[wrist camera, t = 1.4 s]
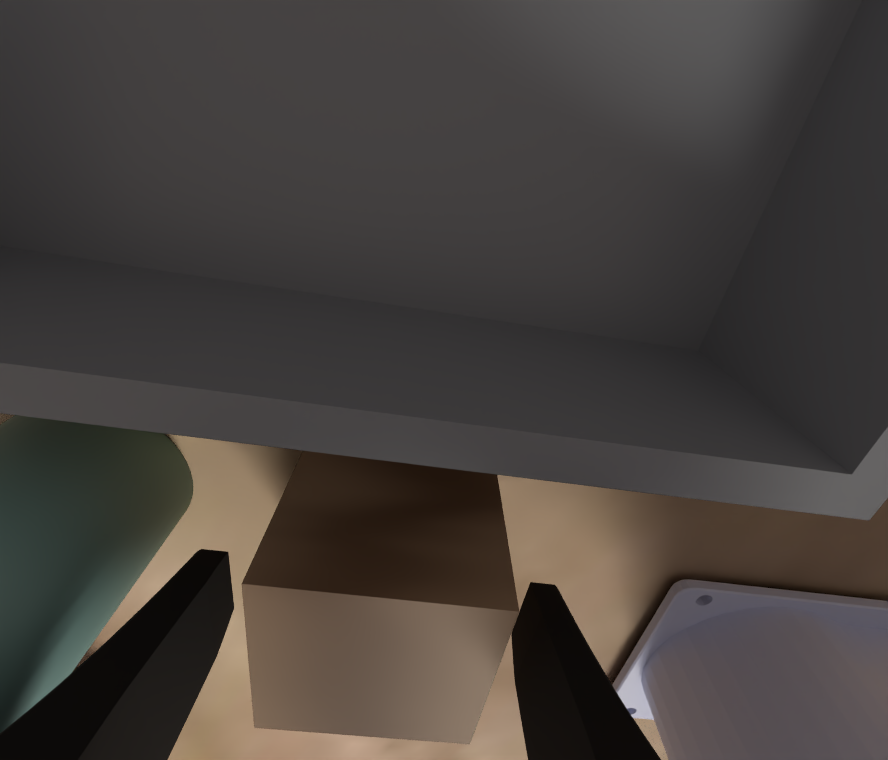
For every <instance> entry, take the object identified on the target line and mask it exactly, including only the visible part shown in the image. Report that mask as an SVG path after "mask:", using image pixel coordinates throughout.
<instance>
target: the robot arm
mask: <svg viewBox="0 0 888 760" xmlns="http://www.w3.org/2000/svg"><path fill="white" fill-rule="evenodd" d="M233 610H234V602H233V593H232V583H231V574H230V565H229V555H228V552H225V551H215V550H205V549H201V550H199V551H198V552H196V553H195V554H194V555H193V556H192V557H191V559H190V560H189V561H188V562H187V563H186V564H185V565H184V566H183V567H182V568H181V569H180V570H179V571H178V572H177V573H176V574H175V575H174V576H173V577H172V578H171V579H170V580H169V581H168V582H167V583H166V584H165V585H164V586H163V587H162V588H161V589H160V590H159V591H158V592H157V593H156V594H155V595H154V596H153V597H152V598H151V599H150V600H149V601H148V602H147V603H146V604H145V605H144V606H143V607H142V608H141V609H140V610H139V611H138V612H137V613H136V614H135V615H134V616H133V617H132V618H131V619H130V620H129V621H128V622H127V623H126V624H125V625H123V626H122V627H121V628H120V629H119V630H118V631H117V632H116V633H115V634H114V635H113V636H112V637H111V638H110V639H109V640H108V641H107V642H106V643H105V644H103V645H102V646H101V647H100V648H99V649H98V650H97V651H96V652H95V653H94V654H92V655H91V656H90V657H89V658H88V659H87V660H86V661H85V662H83V663H82V664H81V665H80V666H79V667H78V668H77V669H76V670H74V671H73V672H72V673H71V674H70V675H69V676H68V677H67V678H65V679H64V680H63V681H62V682H61V683H60V684H59V685H58V686H56V687H55V688H54V689H53V690H52V691H51V692H49V693H48V694H47V695H46V696H45V697H44V698H42V699H41V700H40V701H39V702H38V703H36V704H35V705H34V706H33V707H32V708H31V709H29V710H28V711H27V712H26V713H25V714H23V715H22V716H21V717H20V718H18V719H17V720H16V721H15V722H14V723H12V724H11V725H10V726H9V727H7V728H6V729H5V730H4V731H2V732H1V733H0V760H167V759H168V757H169V755H170V753H171V751H172V749H173V747H174V745H175V743H176V741H177V739H178V736H179V734H180V732H181V730H182V728H183V726H184V724H185V722H186V720H187V718H188V716H189V714H190V711H191V709H192V707H193V705H194V703H195V701H196V699H197V697H198V695H199V693H200V691H201V688H202V686H203V684H204V682H205V680H206V678H207V676H208V674H209V672H210V669H211V667H212V665H213V663H214V661H215V659H216V657H217V654H218V651H219V649H220V646H221V643H222V641H223V638H224V635H225V632H226V630H227V627H228V624H229V621H230V618H231V615H232V612H233ZM512 649H513V664H514V677H515V685H516V691H517V697H518V703H519V709H520V715H521V721H522V727H523V733H524V738H525V744H526V750H527V756H528V760H661V759H660V757H659V756H658V755H657V753H656V752H655V750H654V749H653V747H652V746H651V744H650V743H649V741H648V740H647V739H646V737H645V736H644V734H643V733H642V731H641V730H640V728H639V726H638V725H637V723H636V722H635V720H634V719H633V718H641V719H653V720H654V721H655V724H656V726H657V729H658V732H659V735H660V737H661V740H662V743H663V746H664V748H665V751H666V754H667V757H668V759H669V760H888V601H884V600H875V599H865V598H856V597H847V596H838V595H829V594H820V593H811V592H801V591H792V590H783V589H774V588H765V587H756V586H747V585H737V584H728V583H719V582H710V581H701V580H692V579H684V580H680V581H678V582H676V583H674V584H673V585H672V587H671V588H670V590H669V591H668V593H667V595H666V596H665V598H664V600H663V601H662V603H661V605H660V606H659V608H658V610H657V611H656V613H655V615H654V616H653V618H652V620H651V621H650V623H649V625H648V626H647V628H646V630H645V631H644V633H643V635H642V636H641V638H640V640H639V641H638V643H637V645H636V646H635V648H634V650H633V651H632V653H631V655H630V656H629V658H628V660H627V661H626V663H625V665H624V666H623V668H622V670H621V671H620V673H619V675H618V676H617V678H616V679H615V681H614V683H613V684H611V682H610V681H609V679H608V677H607V676H606V674H605V672H604V671H603V669H602V667H601V666H600V664H599V662H598V661H597V659H596V657H595V656H594V654H593V652H592V650H591V649H590V647H589V645H588V643H587V642H586V640H585V638H584V636H583V634H582V633H581V631H580V629H579V627H578V626H577V624H576V622H575V620H574V618H573V616H572V614H571V613H570V611H569V609H568V607H567V605H566V603H565V601H564V599H563V598H562V596H561V594H560V592H559V590H558V588H557V587H556V586H555V585H552V584H542V583H532V582H530V585H529V588H528V590H527V593H526V596H525V598H524V601H523V604H522V606H521V609H520V612H519V615H518V617H517V620H516V623H515V625H514V628H513V631H512Z"/></svg>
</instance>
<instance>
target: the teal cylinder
mask: <svg viewBox="0 0 888 760" xmlns="http://www.w3.org/2000/svg"><path fill="white" fill-rule="evenodd" d="M192 495H193V480H192V475H191V472H190V469H189V467H188V464H187V462H186V460H185V459H184V457H183V455H182V454H181V452H180V451H179V449H178V448H177V447H176V445H175V444H174V443H173V442H172V441H171V440H170V439H169V438H168V437H167V436H166V435H165V434H164V433H157V432H149V431H141V430H132V429H124V428H116V427H108V426H100V425H92V424H84V423H76V422H68V421H60V420H52V419H43V418H35V417H27V416H19V415H15V416H13V417H12V418H10V419H8V420H7V421H5V422H4V423H2V424H0V733H1V732H2V731H4V730H5V729H6V728H7V727H9V726H10V725H11V724H12V723H14V722H15V721H16V720H17V719H18V718H20V717H21V716H22V715H23V714H25V713H26V712H27V711H28V710H29V709H31V708H32V707H33V706H34V705H35V704H36V703H38V702H39V701H40V700H41V699H42V698H44V697H45V696H46V695H47V694H48V693H49V692H51V691H52V690H53V689H54V688H55V687H56V686H58V685H59V684H60V683H61V682H62V681H63V680H64V679H65V678H67V677H68V676H69V675H70V674H71V673H72V672H73V670H74V669H75V667H76V666H77V665H78V663H79V662H80V660H81V659H82V658H83V656H84V655H85V653H86V652H87V650H88V649H89V648H90V646H91V645H92V643H93V642H94V641H95V639H96V638H97V636H98V635H99V633H100V632H101V631H102V629H103V628H104V626H105V625H106V624H107V622H108V621H109V619H110V618H111V616H112V615H113V614H114V612H115V611H116V609H117V608H118V607H119V605H120V604H121V602H122V601H123V599H124V598H125V597H126V595H127V594H128V592H129V591H130V590H131V588H132V587H133V585H134V584H135V582H136V581H137V580H138V578H139V577H140V575H141V574H142V573H143V571H144V570H145V568H146V567H147V565H148V564H149V563H150V561H151V560H152V558H153V557H154V555H155V554H156V553H157V551H158V550H159V548H160V547H161V546H162V544H163V543H164V541H165V540H166V538H167V537H168V536H169V534H170V533H171V531H172V530H173V529H174V527H175V526H176V524H177V523H178V521H179V520H180V519H181V517H182V516H183V514H184V513H185V512H186V510H187V508H188V507H189V505H190V502H191V499H192Z"/></svg>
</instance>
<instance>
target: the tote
mask: <svg viewBox="0 0 888 760" xmlns="http://www.w3.org/2000/svg"><path fill="white" fill-rule="evenodd" d="M0 413H3V414H11V415H19V416H27V417H35V418H43V419H52V420H60V421H68V422H76V423H84V424H92V425H100V426H108V427H116V428H124V429H132V430H141V431H149V432H157V433H165V434H173V435H181V436H189V437H197V438H205V439H213V440H222V441H230V442H238V443H246V444H254V445H262V446H270V447H278V448H286V449H294V450H303V451H311V452H319V453H327V454H335V455H343V456H351V457H359V458H367V459H375V460H384V461H392V462H400V463H408V464H416V465H424V466H432V467H440V468H448V469H456V470H464V471H473V472H481V473H489V474H497V475H505V476H513V477H521V478H529V479H537V480H545V481H554V482H562V483H570V484H578V485H586V486H594V487H602V488H610V489H618V490H626V491H635V492H643V493H651V494H659V495H667V496H675V497H683V498H691V499H699V500H707V501H716V502H724V503H732V504H740V505H748V506H756V507H764V508H772V509H780V510H788V511H796V512H805V513H813V514H821V515H829V516H837V517H845V518H853V519H861V520H870V519H871V518H872V516H873V515H874V514H875V513H876V512H877V510H878V509H879V508H880V507H881V506H882V504H883V503H884V502H885V501H886V500H887V498H888V0H0Z"/></svg>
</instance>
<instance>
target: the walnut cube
mask: <svg viewBox="0 0 888 760" xmlns="http://www.w3.org/2000/svg"><path fill="white" fill-rule="evenodd" d="M242 593H243V604H244V615H245V627H246V638H247V649H248V661H249V672H250V683H251V695H252V706H253V717H254V728H264V729H277V730H290V731H303V732H316V733H329V734H342V735H355V736H368V737H381V738H394V739H407V740H420V741H433V742H446V743H459V744H470V742H471V740H472V737H473V734H474V732H475V729H476V726H477V724H478V721H479V718H480V716H481V713H482V710H483V707H484V705H485V702H486V699H487V697H488V694H489V691H490V689H491V686H492V683H493V681H494V678H495V675H496V673H497V670H498V667H499V665H500V662H501V659H502V656H503V654H504V651H505V648H506V646H507V643H508V640H509V638H510V635H511V632H512V630H513V627H514V624H515V622H516V619H517V616H518V614H519V607H518V601H517V595H516V589H515V583H514V577H513V570H512V564H511V558H510V552H509V546H508V539H507V533H506V527H505V521H504V515H503V508H502V502H501V496H500V490H499V484H498V478H497V474H489V473H481V472H473V471H464V470H456V469H448V468H440V467H432V466H424V465H416V464H408V463H400V462H392V461H384V460H375V459H367V458H359V457H351V456H343V455H335V454H327V453H319V452H311V451H303V452H302V454H301V456H300V458H299V461H298V463H297V465H296V467H295V469H294V471H293V474H292V476H291V478H290V480H289V482H288V484H287V487H286V489H285V491H284V493H283V495H282V497H281V500H280V502H279V504H278V506H277V508H276V510H275V513H274V515H273V517H272V519H271V521H270V524H269V526H268V528H267V530H266V532H265V534H264V537H263V539H262V541H261V543H260V545H259V547H258V550H257V552H256V554H255V556H254V558H253V560H252V563H251V565H250V567H249V569H248V571H247V573H246V576H245V578H244V580H243V582H242Z"/></svg>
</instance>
